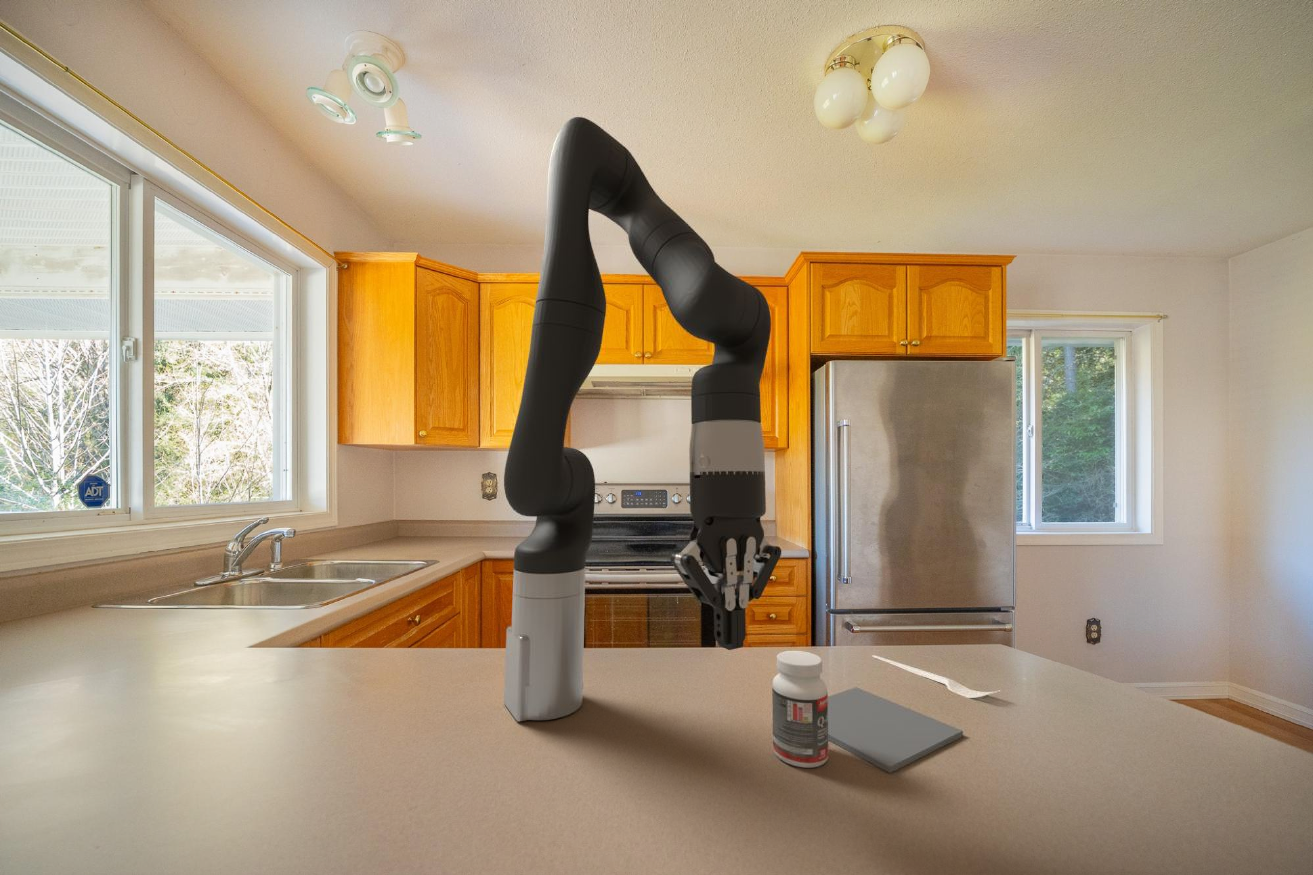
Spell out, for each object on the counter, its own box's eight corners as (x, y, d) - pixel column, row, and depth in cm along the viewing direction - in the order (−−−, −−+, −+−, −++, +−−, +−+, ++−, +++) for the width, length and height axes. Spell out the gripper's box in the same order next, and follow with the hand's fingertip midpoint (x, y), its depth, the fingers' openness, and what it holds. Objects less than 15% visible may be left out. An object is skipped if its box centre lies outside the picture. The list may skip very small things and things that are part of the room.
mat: (889, 773, 49) (889, 766, 49) (784, 716, 61) (784, 711, 61) (963, 736, 57) (962, 730, 57) (856, 691, 69) (856, 687, 69)
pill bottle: (832, 773, 49) (830, 669, 50) (773, 766, 50) (772, 664, 51) (824, 743, 55) (823, 650, 56) (772, 737, 56) (771, 647, 57)
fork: (879, 658, 84) (878, 647, 84) (1004, 704, 66) (1003, 689, 66) (865, 661, 82) (864, 649, 83) (989, 708, 64) (988, 693, 65)
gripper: (749, 470, 57) (753, 627, 55) (651, 469, 50) (652, 648, 48) (801, 468, 50) (806, 645, 49) (696, 466, 43) (699, 673, 42)
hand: (730, 646), depth 48 cm, fingers closed
